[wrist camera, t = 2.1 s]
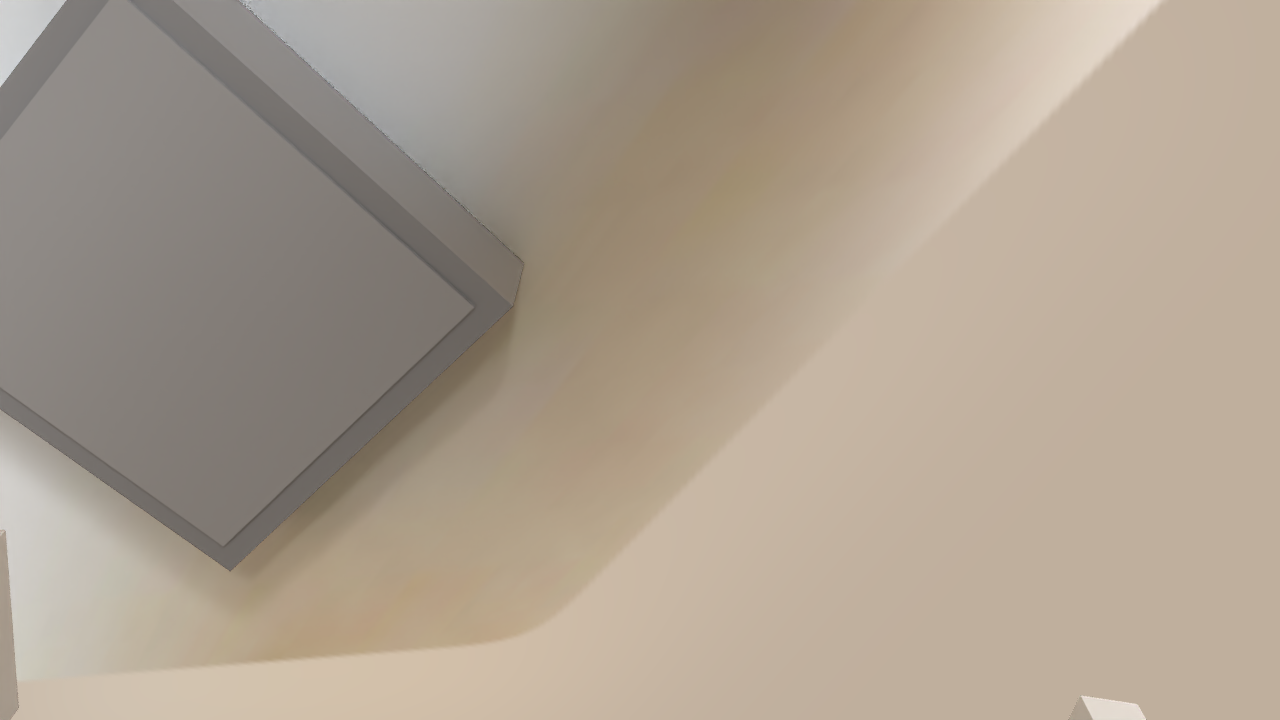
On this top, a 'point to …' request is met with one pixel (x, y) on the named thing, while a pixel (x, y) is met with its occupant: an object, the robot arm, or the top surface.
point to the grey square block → (217, 265)
